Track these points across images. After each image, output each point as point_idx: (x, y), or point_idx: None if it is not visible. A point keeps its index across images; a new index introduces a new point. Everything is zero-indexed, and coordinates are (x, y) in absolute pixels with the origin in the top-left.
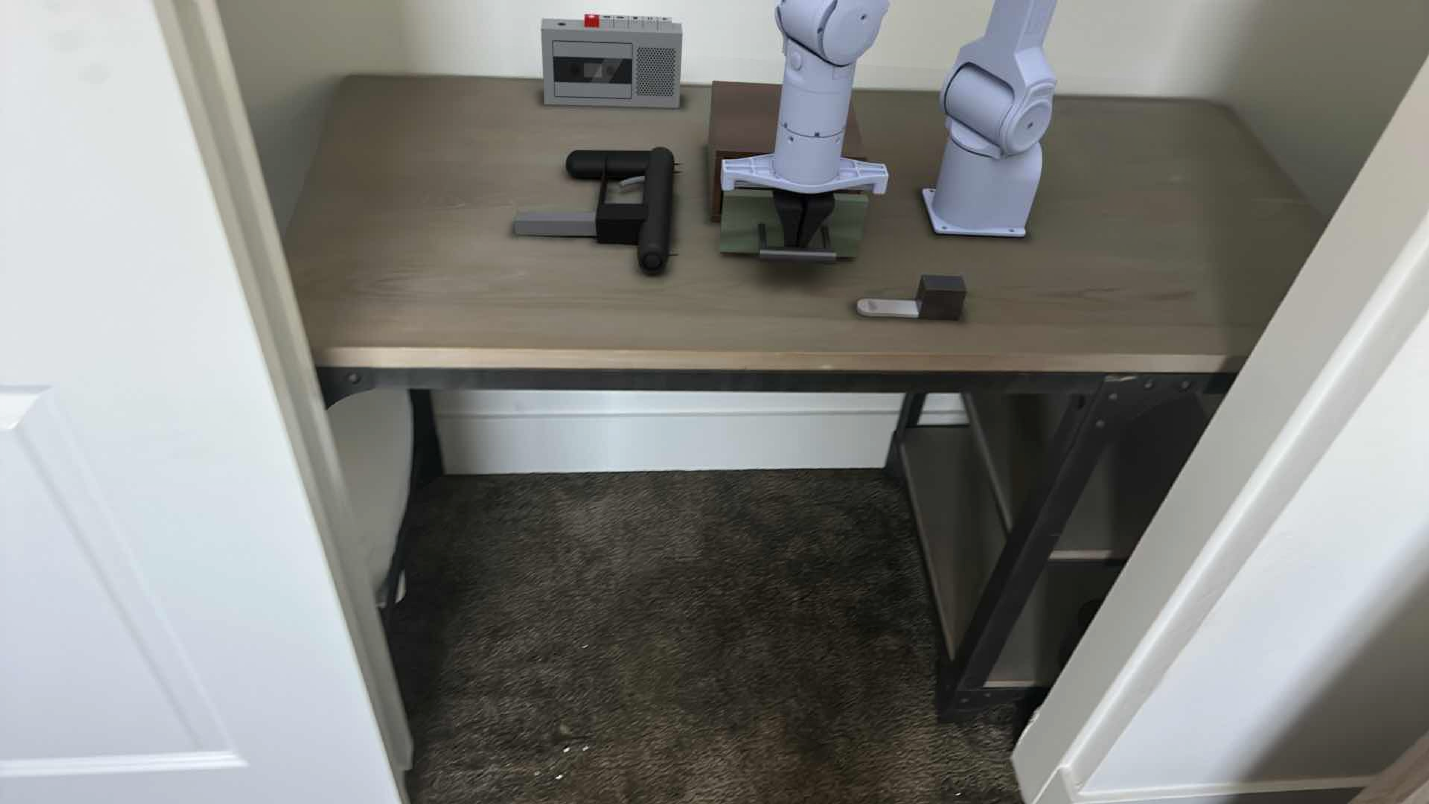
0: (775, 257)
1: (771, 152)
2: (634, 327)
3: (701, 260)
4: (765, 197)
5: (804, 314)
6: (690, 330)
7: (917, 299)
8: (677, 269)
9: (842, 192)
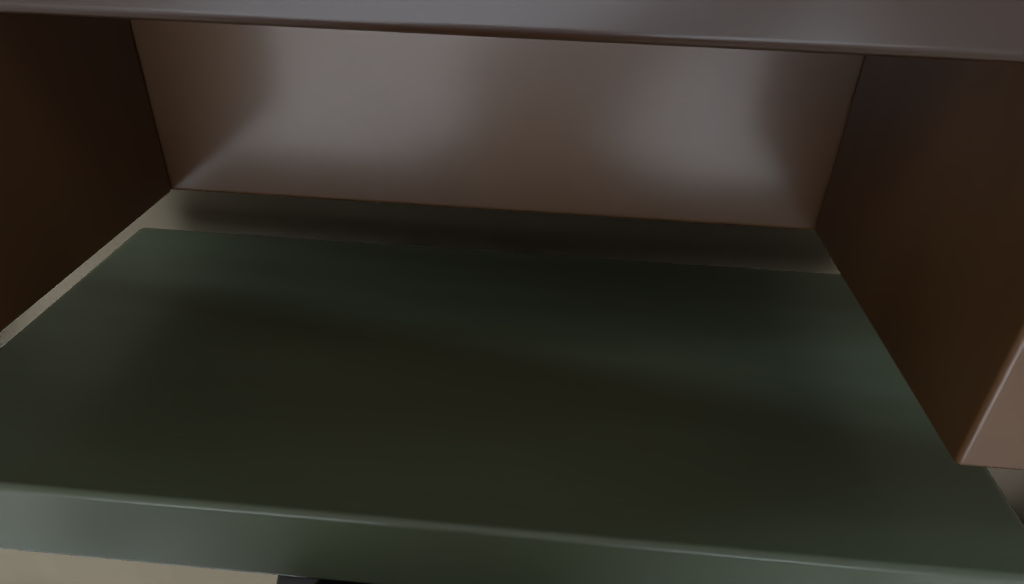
0: None
1: (34, 5)
2: (7, 551)
3: (105, 257)
4: (195, 561)
5: None
6: (168, 570)
7: None
8: (27, 312)
9: (956, 137)
